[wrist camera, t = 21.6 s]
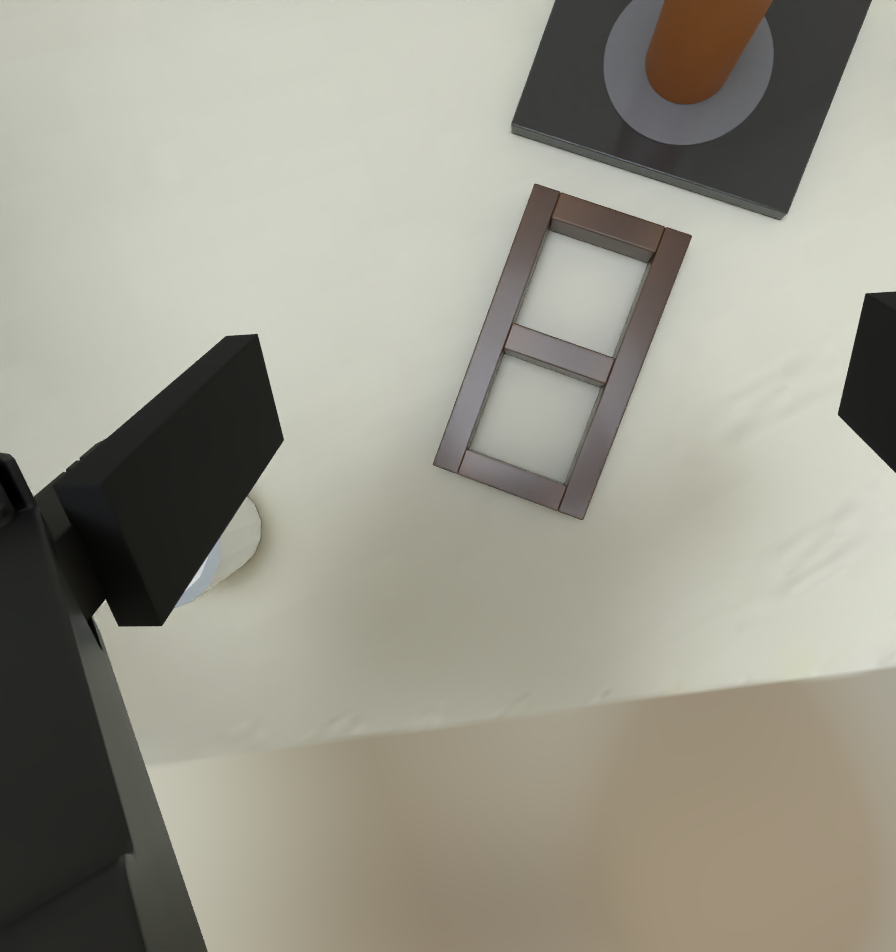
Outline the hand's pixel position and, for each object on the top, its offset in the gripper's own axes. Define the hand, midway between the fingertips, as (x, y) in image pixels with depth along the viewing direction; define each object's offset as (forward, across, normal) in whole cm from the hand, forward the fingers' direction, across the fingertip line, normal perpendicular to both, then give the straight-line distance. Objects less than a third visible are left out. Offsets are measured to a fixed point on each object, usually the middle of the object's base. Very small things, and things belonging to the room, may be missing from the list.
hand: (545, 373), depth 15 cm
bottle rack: (+23, +1, -8) cm, 24 cm away
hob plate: (+30, +9, +6) cm, 32 cm away
